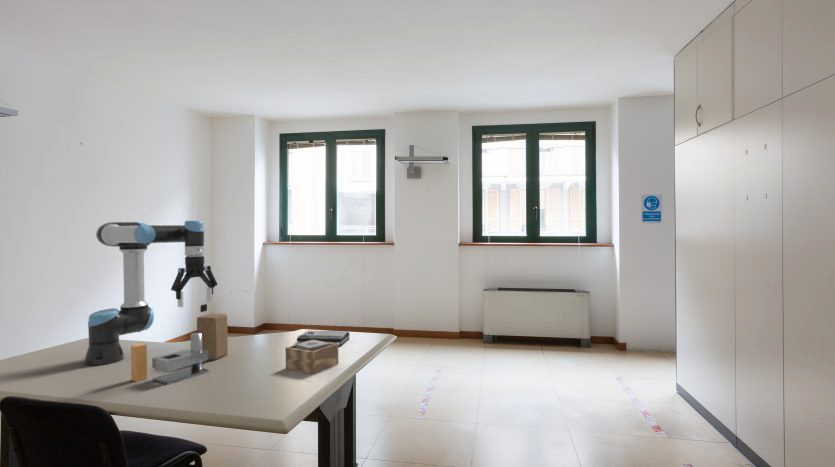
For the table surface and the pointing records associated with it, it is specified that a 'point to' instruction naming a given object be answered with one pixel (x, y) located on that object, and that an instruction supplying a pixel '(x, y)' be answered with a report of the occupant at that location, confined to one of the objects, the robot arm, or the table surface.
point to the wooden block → (213, 334)
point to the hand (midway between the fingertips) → (195, 304)
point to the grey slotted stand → (182, 362)
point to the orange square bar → (138, 362)
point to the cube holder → (312, 358)
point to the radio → (325, 337)
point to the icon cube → (311, 345)
